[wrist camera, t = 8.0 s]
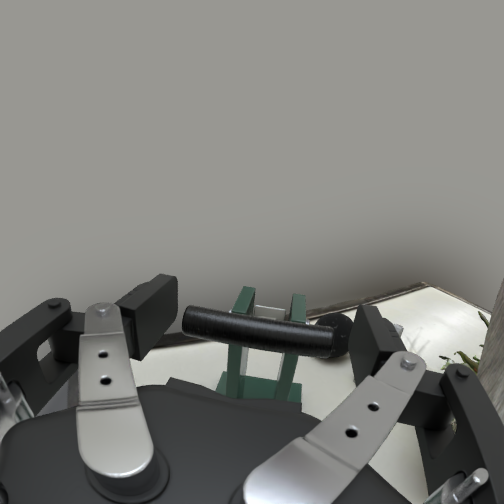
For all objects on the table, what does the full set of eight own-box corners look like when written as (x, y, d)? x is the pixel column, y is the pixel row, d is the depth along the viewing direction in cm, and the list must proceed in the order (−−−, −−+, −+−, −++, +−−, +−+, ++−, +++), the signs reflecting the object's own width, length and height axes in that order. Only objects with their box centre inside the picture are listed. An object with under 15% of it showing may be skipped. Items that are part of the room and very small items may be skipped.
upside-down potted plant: (504, 435, 22) (493, 291, 32) (585, 431, 6) (569, 244, 16) (375, 499, 21) (366, 313, 31) (455, 555, 5) (457, 251, 15)
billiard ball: (357, 359, 36) (369, 322, 34) (323, 369, 33) (334, 330, 32) (334, 338, 41) (343, 303, 39) (301, 345, 39) (308, 308, 37)
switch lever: (327, 377, 9) (338, 310, 10) (176, 351, 10) (187, 287, 10) (300, 342, 22) (305, 312, 22) (233, 331, 22) (238, 302, 23)
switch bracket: (294, 476, 18) (342, 359, 14) (190, 458, 19) (181, 333, 15) (299, 390, 29) (326, 280, 26) (222, 378, 31) (230, 267, 27)
